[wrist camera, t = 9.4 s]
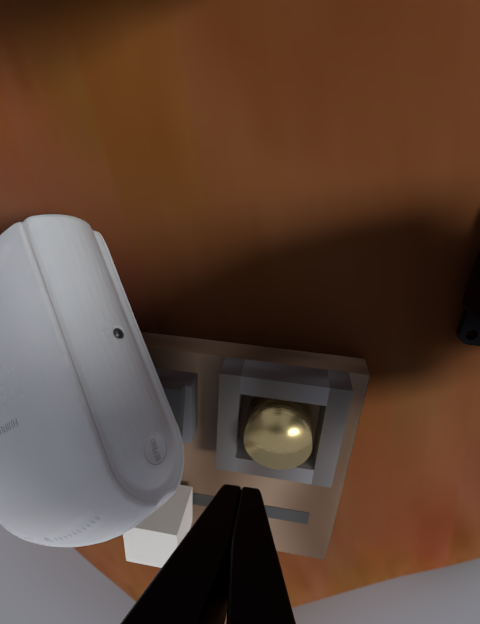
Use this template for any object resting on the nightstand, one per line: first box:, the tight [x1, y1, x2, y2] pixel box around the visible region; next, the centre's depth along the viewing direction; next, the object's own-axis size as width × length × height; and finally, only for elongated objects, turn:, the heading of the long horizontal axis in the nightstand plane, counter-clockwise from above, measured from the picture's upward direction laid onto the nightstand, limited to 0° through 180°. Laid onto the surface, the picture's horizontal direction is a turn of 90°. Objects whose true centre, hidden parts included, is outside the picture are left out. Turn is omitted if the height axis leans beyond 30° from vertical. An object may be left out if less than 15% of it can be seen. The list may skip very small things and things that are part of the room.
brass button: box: [244, 397, 312, 470], centre depth 17 cm, size 3×3×2 cm
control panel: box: [140, 331, 370, 560], centre depth 20 cm, size 13×14×3 cm
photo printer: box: [0, 214, 184, 547], centre depth 16 cm, size 10×4×12 cm
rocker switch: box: [160, 380, 186, 436], centre depth 17 cm, size 3×4×1 cm, turn 176°
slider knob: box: [123, 485, 193, 568], centre depth 21 cm, size 3×3×3 cm
